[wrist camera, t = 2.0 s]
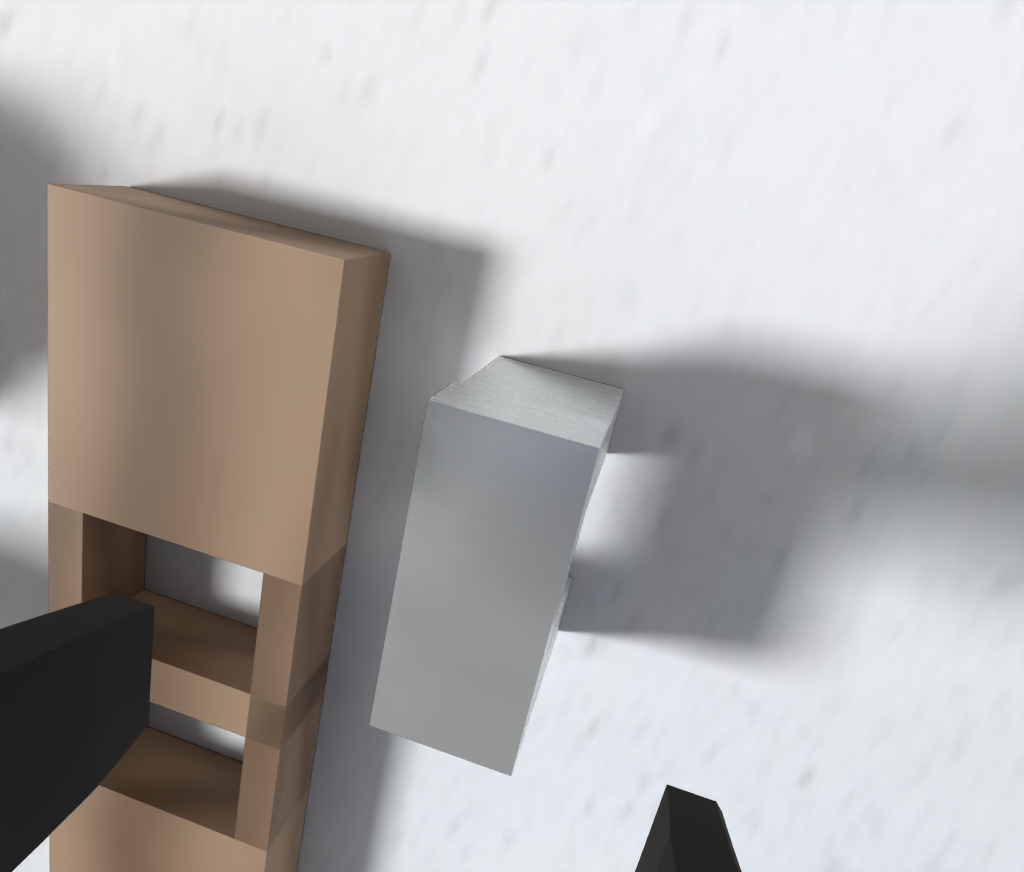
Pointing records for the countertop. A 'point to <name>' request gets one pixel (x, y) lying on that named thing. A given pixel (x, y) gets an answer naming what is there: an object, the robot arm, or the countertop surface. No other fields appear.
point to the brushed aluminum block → (489, 556)
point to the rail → (205, 498)
